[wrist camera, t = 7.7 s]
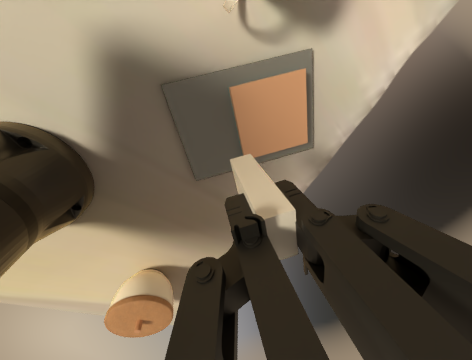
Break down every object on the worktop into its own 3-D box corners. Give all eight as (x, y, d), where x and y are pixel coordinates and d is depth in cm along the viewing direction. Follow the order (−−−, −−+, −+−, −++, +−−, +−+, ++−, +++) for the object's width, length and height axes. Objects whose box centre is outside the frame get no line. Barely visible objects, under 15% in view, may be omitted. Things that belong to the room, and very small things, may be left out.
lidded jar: (130, 300, 41) (115, 355, 33) (111, 268, 36) (86, 323, 28) (181, 288, 42) (178, 338, 34) (169, 255, 37) (162, 304, 29)
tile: (245, 160, 28) (307, 142, 29) (229, 87, 23) (305, 68, 24) (242, 156, 30) (301, 139, 30) (227, 86, 25) (299, 68, 26)
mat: (196, 179, 31) (196, 181, 30) (161, 85, 24) (161, 85, 23) (311, 146, 32) (313, 148, 32) (309, 48, 25) (312, 48, 25)
